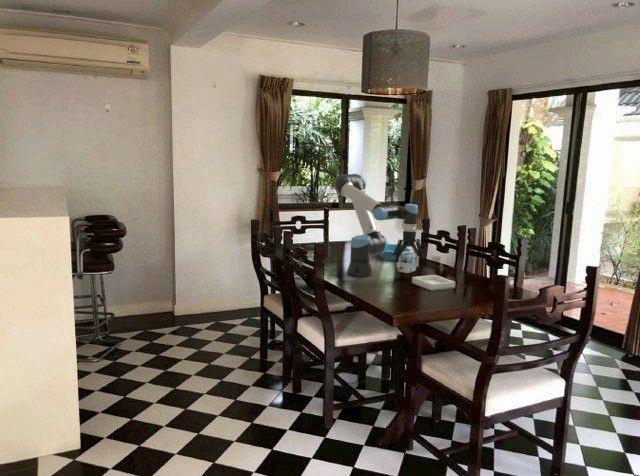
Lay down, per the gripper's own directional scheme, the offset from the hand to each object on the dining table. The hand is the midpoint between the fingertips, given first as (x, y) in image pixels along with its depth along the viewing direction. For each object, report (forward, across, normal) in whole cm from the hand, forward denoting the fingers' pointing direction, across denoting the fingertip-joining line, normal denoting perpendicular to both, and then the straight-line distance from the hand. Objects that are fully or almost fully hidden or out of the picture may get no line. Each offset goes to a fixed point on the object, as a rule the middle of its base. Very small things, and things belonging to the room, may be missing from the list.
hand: (407, 266), depth 297 cm
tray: (+7, +5, -19) cm, 20 cm away
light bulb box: (+3, 0, 0) cm, 3 cm away
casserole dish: (+9, +29, +59) cm, 67 cm away
